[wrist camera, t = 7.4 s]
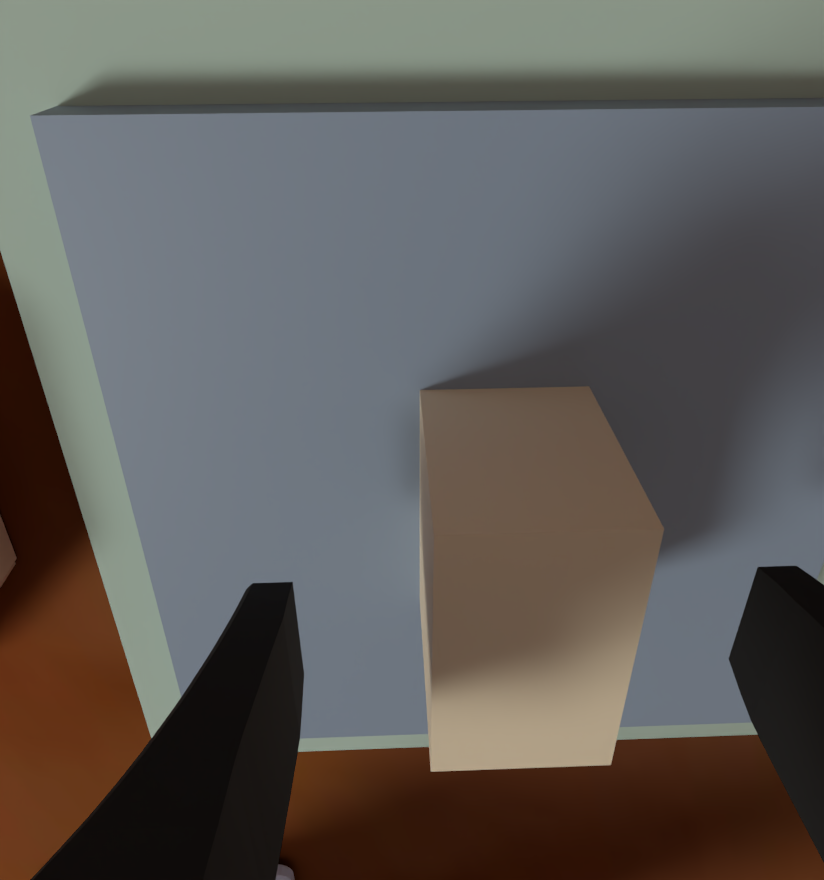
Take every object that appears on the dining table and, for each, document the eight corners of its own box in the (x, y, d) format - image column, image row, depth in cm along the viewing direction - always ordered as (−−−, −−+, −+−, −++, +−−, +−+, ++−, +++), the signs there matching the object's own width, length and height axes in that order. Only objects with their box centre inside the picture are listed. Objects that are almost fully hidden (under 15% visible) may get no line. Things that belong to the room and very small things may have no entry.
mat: (774, 718, 20) (783, 733, 20) (162, 740, 20) (157, 756, 19) (1083, -65, 11) (1111, -67, 10) (-77, -57, 10) (-96, -59, 10)
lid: (744, 689, 19) (850, 892, 15) (201, 707, 18) (147, 922, 14) (954, 96, 11) (1291, 158, 7) (56, 105, 11) (-145, 178, 7)
